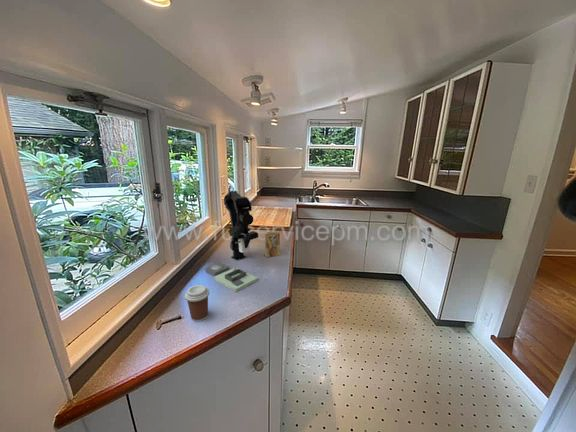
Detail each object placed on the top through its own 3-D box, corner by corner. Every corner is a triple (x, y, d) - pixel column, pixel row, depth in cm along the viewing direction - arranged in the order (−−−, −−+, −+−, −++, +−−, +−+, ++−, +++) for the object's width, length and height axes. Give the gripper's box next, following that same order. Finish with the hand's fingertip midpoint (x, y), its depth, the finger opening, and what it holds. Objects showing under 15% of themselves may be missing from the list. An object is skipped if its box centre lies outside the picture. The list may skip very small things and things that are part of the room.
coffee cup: (214, 318, 95) (211, 291, 92) (190, 327, 90) (186, 298, 87) (208, 306, 102) (205, 280, 99) (185, 313, 98) (182, 287, 95)
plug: (238, 254, 130) (237, 242, 128) (234, 253, 132) (233, 241, 130) (250, 249, 136) (249, 238, 135) (246, 248, 138) (246, 236, 136)
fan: (205, 271, 132) (205, 267, 131) (219, 266, 139) (219, 261, 138) (215, 277, 126) (214, 272, 126) (229, 271, 133) (228, 266, 132)
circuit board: (214, 279, 124) (213, 273, 123) (236, 269, 135) (235, 263, 134) (235, 291, 113) (235, 285, 112) (257, 280, 123) (257, 274, 122)
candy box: (278, 253, 156) (277, 230, 153) (280, 255, 153) (279, 232, 149) (264, 255, 154) (264, 232, 150) (266, 257, 150) (265, 234, 146)
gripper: (219, 220, 130) (222, 247, 134) (242, 227, 119) (243, 256, 123) (236, 216, 139) (238, 242, 143) (258, 222, 127) (259, 249, 131)
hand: (244, 247), depth 134 cm, fingers closed on plug, 3 cm apart
